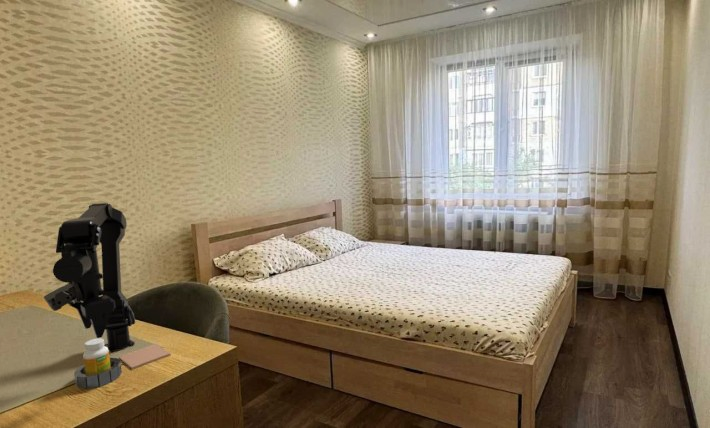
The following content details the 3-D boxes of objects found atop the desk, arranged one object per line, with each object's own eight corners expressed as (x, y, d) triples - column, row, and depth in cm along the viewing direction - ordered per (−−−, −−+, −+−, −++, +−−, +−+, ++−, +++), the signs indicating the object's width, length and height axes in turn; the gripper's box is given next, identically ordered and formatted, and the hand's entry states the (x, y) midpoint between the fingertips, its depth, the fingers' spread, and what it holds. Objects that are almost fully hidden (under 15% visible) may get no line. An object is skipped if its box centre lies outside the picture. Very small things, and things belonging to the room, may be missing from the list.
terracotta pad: (118, 358, 113) (118, 356, 113) (156, 345, 120) (155, 343, 120) (132, 369, 106) (131, 367, 106) (170, 354, 114) (170, 353, 114)
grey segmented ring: (71, 380, 102) (70, 368, 102) (114, 364, 109) (112, 354, 109) (82, 393, 96) (80, 381, 95) (126, 376, 103) (125, 365, 102)
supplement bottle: (99, 384, 99) (94, 346, 98) (81, 383, 101) (75, 345, 99) (116, 373, 105) (112, 337, 103) (98, 372, 106) (94, 336, 105)
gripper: (35, 273, 100) (45, 334, 102) (54, 286, 87) (64, 355, 89) (88, 263, 108) (95, 320, 110) (112, 274, 95) (120, 338, 97)
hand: (93, 332), depth 101 cm, fingers open, 9 cm apart
